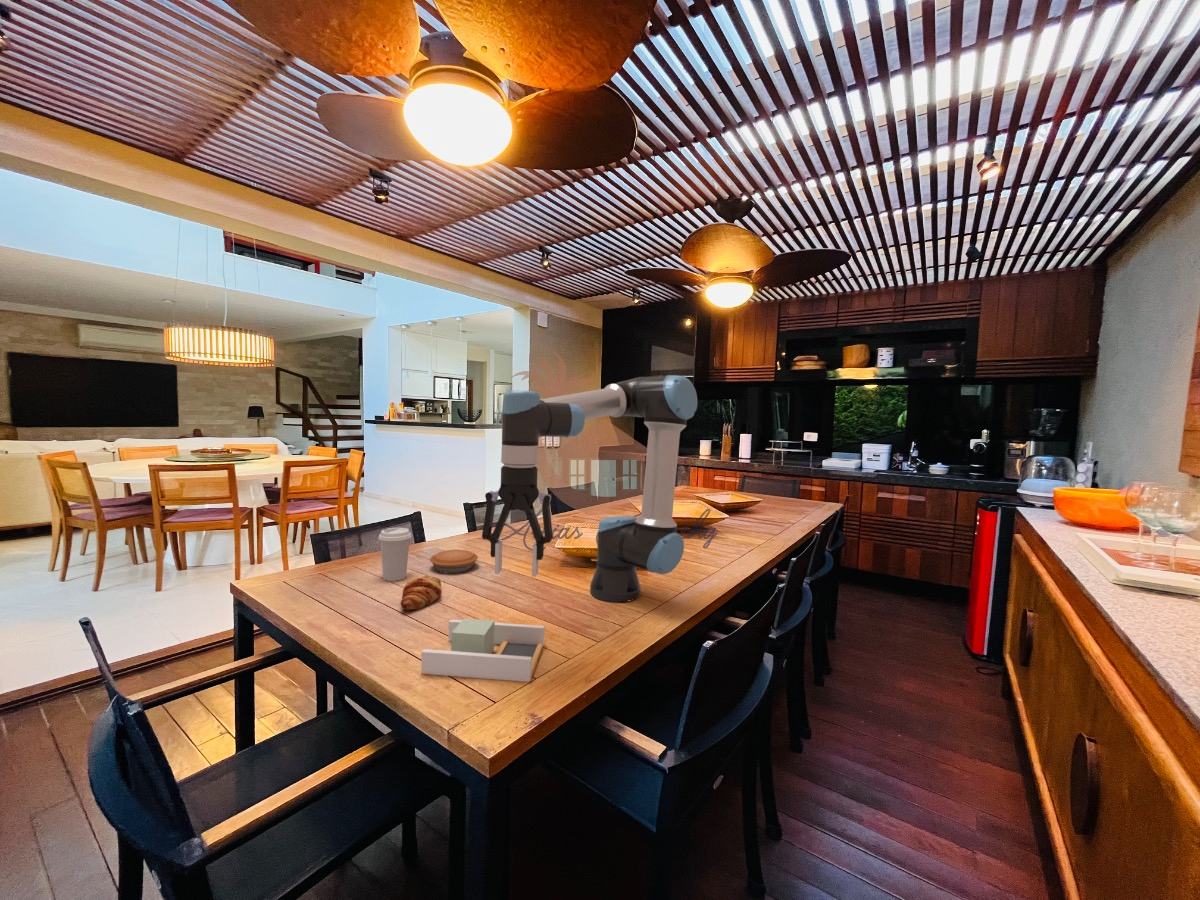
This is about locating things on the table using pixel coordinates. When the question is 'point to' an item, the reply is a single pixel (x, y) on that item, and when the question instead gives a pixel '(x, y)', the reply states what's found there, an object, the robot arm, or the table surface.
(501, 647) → the drawer
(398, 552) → the coffee cup
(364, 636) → the table surface
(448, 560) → the pie
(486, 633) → the block
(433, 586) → the croissant
